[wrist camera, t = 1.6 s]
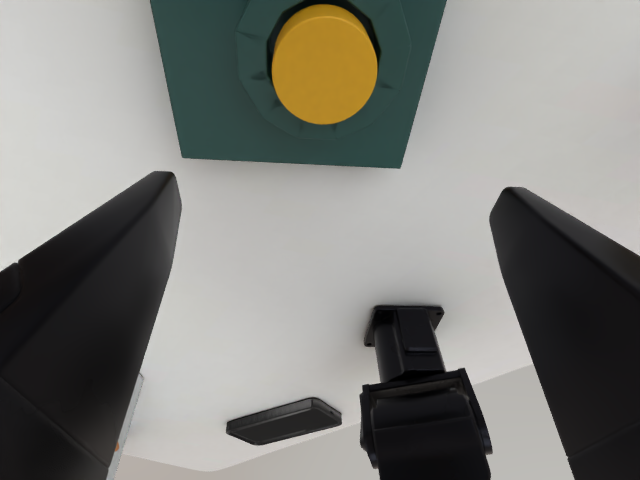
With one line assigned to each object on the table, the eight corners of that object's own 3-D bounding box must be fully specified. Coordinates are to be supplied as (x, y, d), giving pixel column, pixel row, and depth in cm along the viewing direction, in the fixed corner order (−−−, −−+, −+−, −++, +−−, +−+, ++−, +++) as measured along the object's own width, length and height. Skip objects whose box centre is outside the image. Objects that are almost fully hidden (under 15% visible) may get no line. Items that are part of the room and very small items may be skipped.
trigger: (362, 109, 17) (367, 128, 16) (274, 103, 16) (271, 122, 15) (380, 7, 14) (387, 20, 13) (273, -2, 14) (270, 11, 12)
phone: (222, 431, 51) (315, 406, 46) (223, 423, 52) (315, 397, 47) (257, 446, 56) (345, 424, 51) (257, 438, 57) (344, 416, 52)
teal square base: (393, 149, 22) (407, 188, 20) (190, 138, 21) (173, 178, 19) (442, -47, 16) (473, -30, 13) (152, -76, 15) (116, -64, 12)
